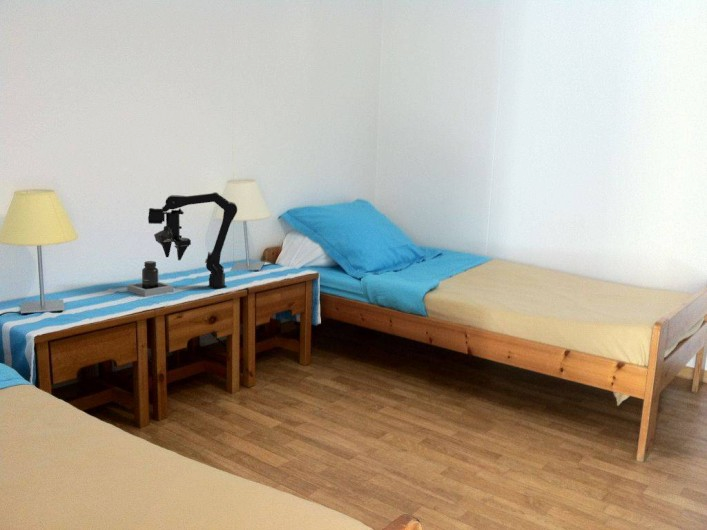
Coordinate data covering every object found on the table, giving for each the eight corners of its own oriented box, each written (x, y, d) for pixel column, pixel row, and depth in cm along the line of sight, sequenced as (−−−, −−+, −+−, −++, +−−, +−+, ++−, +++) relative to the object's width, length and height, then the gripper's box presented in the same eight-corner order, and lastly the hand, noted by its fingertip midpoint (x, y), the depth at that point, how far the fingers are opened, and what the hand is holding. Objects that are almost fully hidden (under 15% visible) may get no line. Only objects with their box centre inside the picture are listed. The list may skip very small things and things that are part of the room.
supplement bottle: (141, 290, 295) (140, 263, 292) (143, 287, 301) (142, 260, 299) (157, 290, 296) (157, 263, 294) (159, 287, 303) (158, 260, 300)
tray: (155, 286, 309) (154, 280, 308) (173, 291, 300) (173, 285, 299) (127, 290, 298) (126, 284, 298) (145, 296, 289) (145, 290, 289)
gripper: (144, 222, 302) (145, 257, 305) (169, 228, 290) (170, 264, 293) (166, 221, 311) (167, 255, 314) (191, 226, 299) (191, 261, 302)
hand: (173, 258), depth 305 cm, fingers open, 9 cm apart
